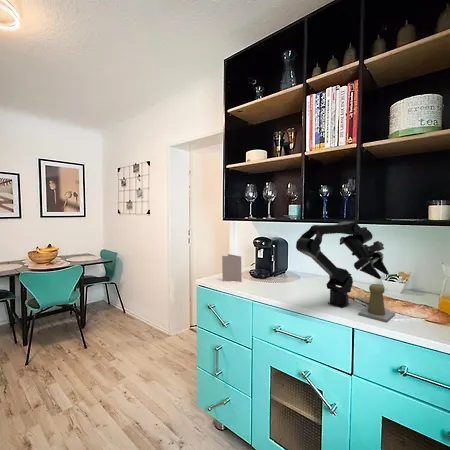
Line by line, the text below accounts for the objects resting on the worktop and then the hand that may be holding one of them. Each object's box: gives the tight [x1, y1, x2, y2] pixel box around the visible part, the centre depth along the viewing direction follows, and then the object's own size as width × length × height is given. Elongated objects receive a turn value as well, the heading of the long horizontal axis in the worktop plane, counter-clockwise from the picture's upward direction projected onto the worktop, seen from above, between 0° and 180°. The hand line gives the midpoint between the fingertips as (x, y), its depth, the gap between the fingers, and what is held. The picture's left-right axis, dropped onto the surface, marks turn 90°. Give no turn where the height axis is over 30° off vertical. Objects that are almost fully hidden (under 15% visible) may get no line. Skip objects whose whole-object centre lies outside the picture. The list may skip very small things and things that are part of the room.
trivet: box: [357, 305, 396, 323], centre depth 104 cm, size 10×10×1 cm
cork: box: [367, 283, 386, 315], centre depth 104 cm, size 6×6×11 cm
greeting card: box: [221, 253, 243, 283], centre depth 156 cm, size 11×7×15 cm, turn 41°
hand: (384, 276), depth 109 cm, fingers open, 9 cm apart
